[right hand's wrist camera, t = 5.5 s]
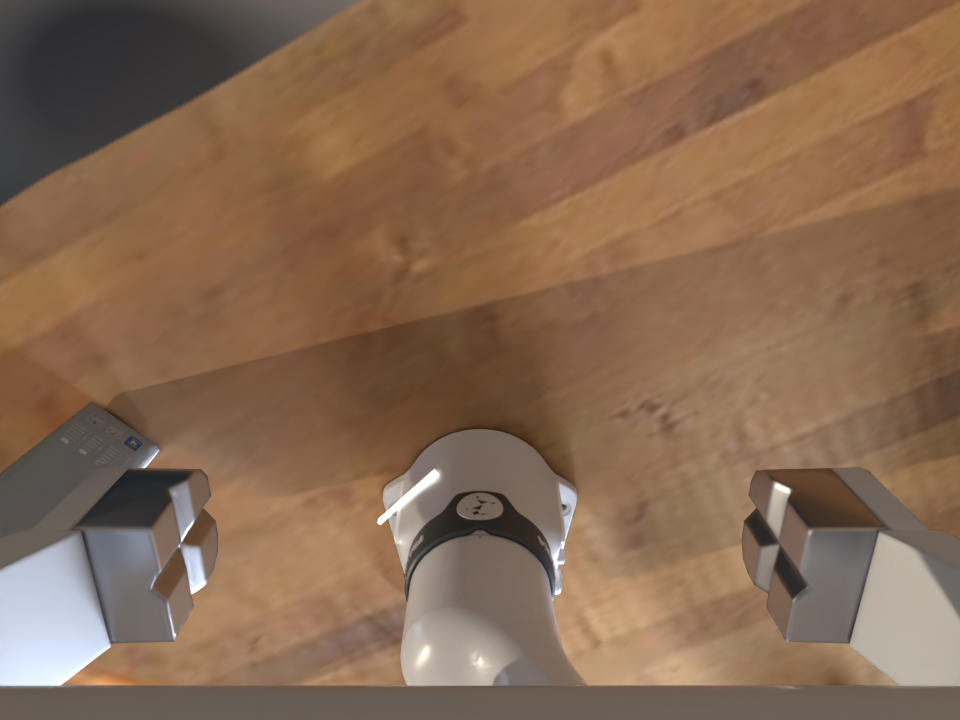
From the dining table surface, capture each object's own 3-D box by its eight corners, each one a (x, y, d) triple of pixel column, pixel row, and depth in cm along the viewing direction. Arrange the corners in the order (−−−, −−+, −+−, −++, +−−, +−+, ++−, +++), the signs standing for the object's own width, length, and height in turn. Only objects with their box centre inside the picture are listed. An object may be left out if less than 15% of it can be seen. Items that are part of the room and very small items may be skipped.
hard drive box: (91, 397, 62) (-74, 527, 44) (163, 446, 64) (34, 591, 45) (10, 504, 66) (-172, 664, 48) (80, 547, 68) (-69, 717, 50)
